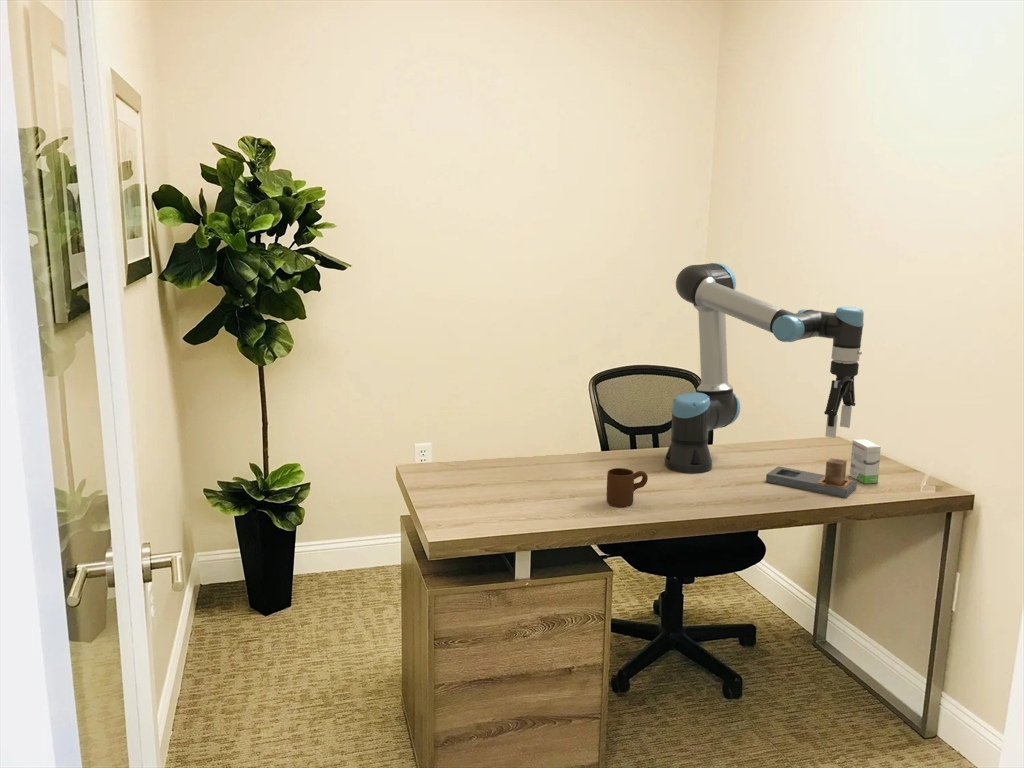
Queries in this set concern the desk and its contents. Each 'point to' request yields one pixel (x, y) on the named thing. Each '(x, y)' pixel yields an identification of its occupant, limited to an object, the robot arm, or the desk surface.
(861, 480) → the ink box
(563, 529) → the desk surface
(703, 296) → the robot arm
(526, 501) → the desk surface
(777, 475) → the grey socket board
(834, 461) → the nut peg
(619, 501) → the mug
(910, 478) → the desk surface
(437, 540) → the desk surface
